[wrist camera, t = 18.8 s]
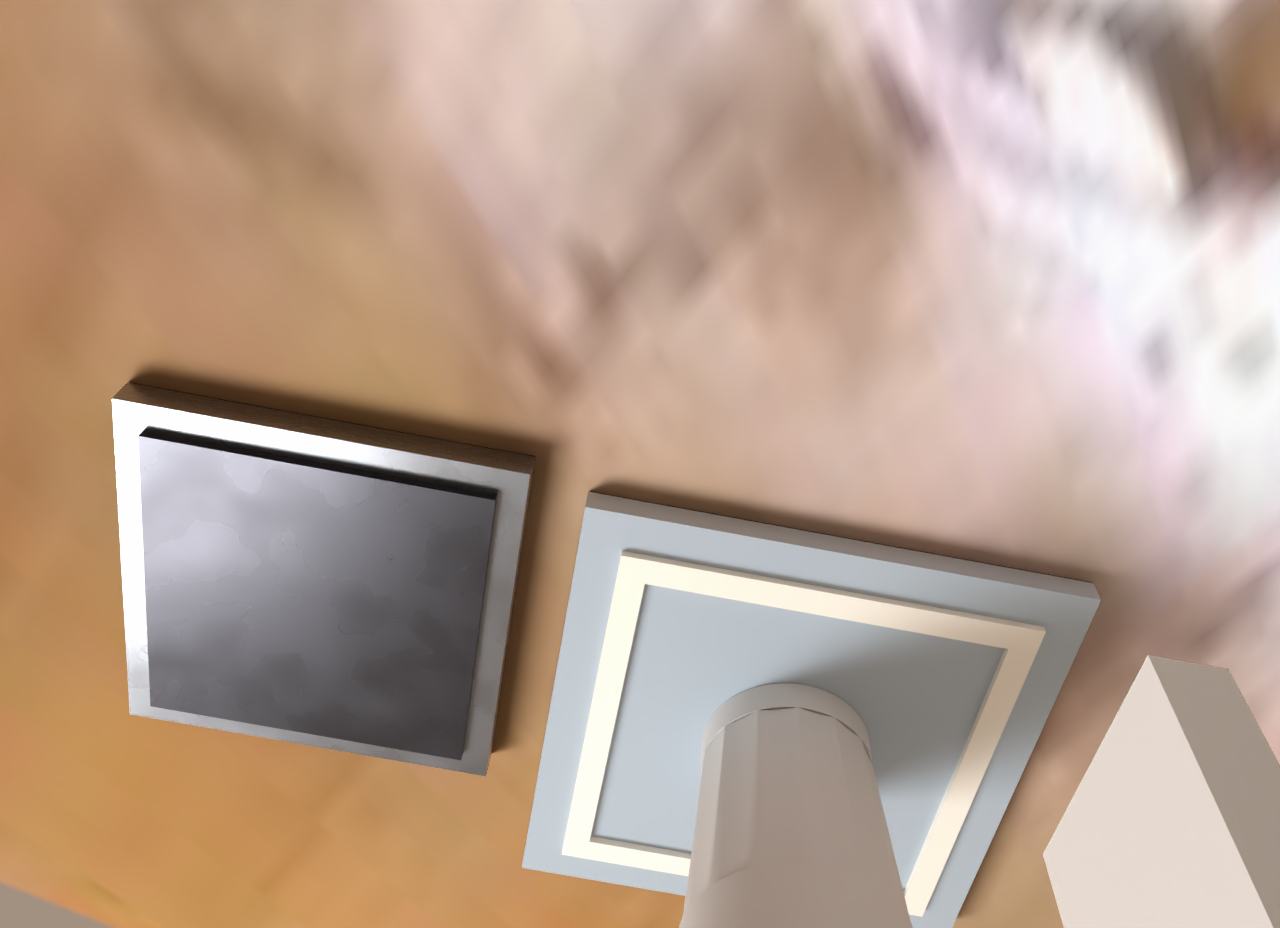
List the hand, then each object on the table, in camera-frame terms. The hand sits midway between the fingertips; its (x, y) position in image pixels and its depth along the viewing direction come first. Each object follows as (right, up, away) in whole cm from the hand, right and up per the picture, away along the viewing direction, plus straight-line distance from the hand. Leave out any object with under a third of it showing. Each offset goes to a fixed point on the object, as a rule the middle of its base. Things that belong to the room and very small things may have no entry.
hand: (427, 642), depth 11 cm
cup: (+8, -9, +35) cm, 37 cm away
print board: (+8, -9, +35) cm, 37 cm away
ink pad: (-10, -3, +33) cm, 35 cm away
